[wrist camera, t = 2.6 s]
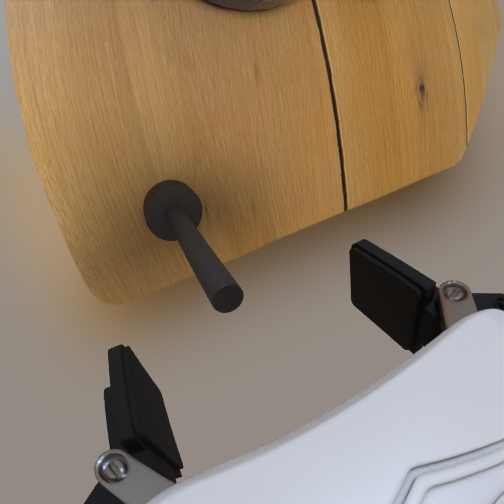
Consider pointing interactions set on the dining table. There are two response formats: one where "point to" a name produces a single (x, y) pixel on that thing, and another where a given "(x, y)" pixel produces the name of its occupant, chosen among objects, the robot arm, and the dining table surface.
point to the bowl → (249, 4)
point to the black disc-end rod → (190, 240)
